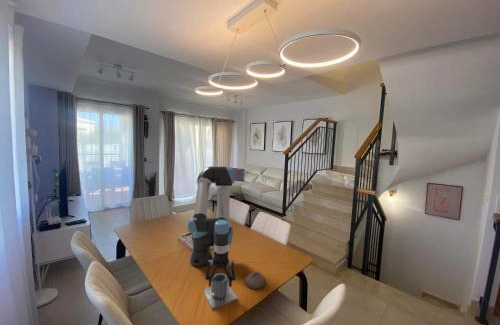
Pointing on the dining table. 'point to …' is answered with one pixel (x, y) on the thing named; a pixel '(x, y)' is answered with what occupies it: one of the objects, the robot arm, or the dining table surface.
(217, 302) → the square plate
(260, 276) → the decorative stone
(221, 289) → the sleeve
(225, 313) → the dining table surface
